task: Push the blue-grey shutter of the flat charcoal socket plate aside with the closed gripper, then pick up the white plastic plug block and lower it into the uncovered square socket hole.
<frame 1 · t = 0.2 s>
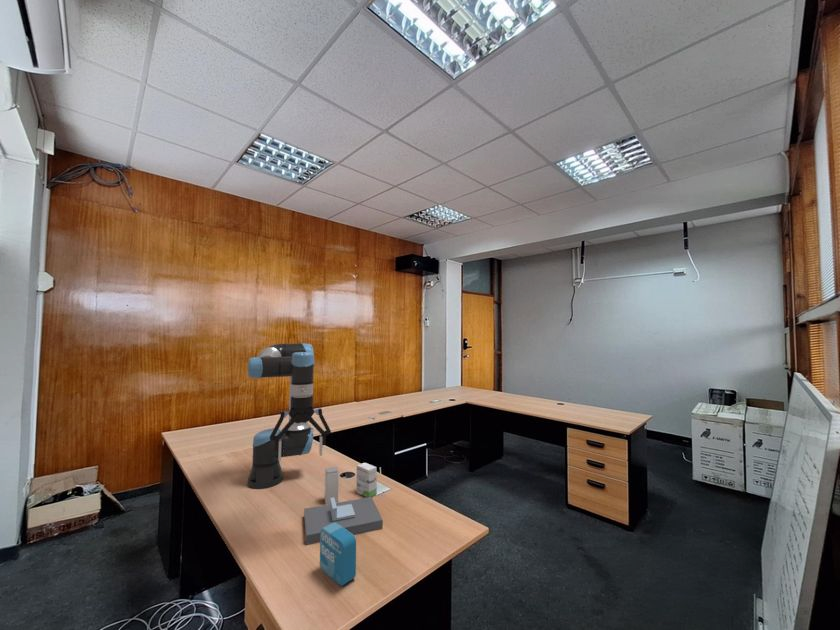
hand: (300, 457, 116), 26 cm above the table, fingers open, 13 cm apart
ink box: (366, 493, 145), on the table
socket block: (342, 522, 122), on the table
data package: (337, 574, 96), on the table
shutter: (342, 507, 123), point 5 cm above the table, slide at 0.0 cm
plug: (331, 500, 138), on the table
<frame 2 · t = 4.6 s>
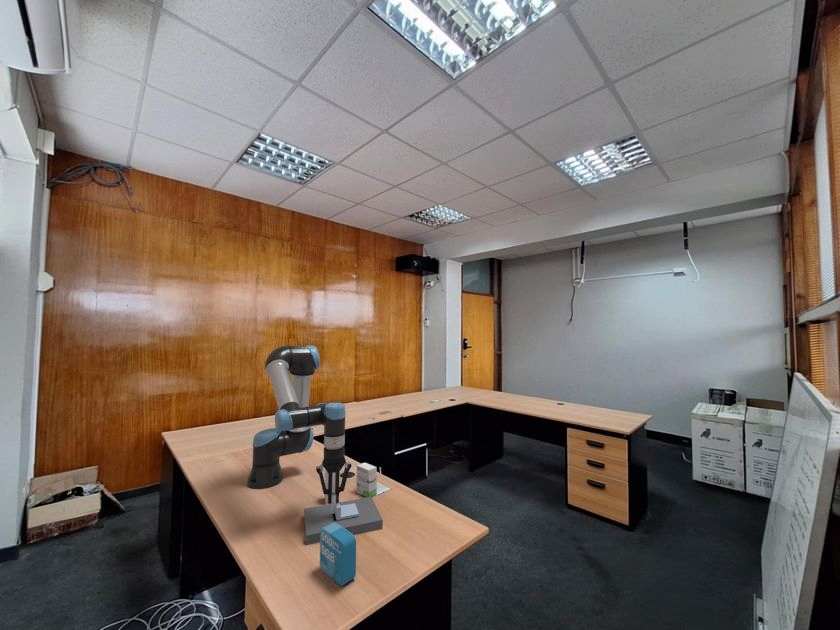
hand: (333, 511, 121), 5 cm above the table, fingers closed
shutter: (346, 506, 123), point 5 cm above the table, slide at 1.4 cm, touching gripper
everything else where it was.
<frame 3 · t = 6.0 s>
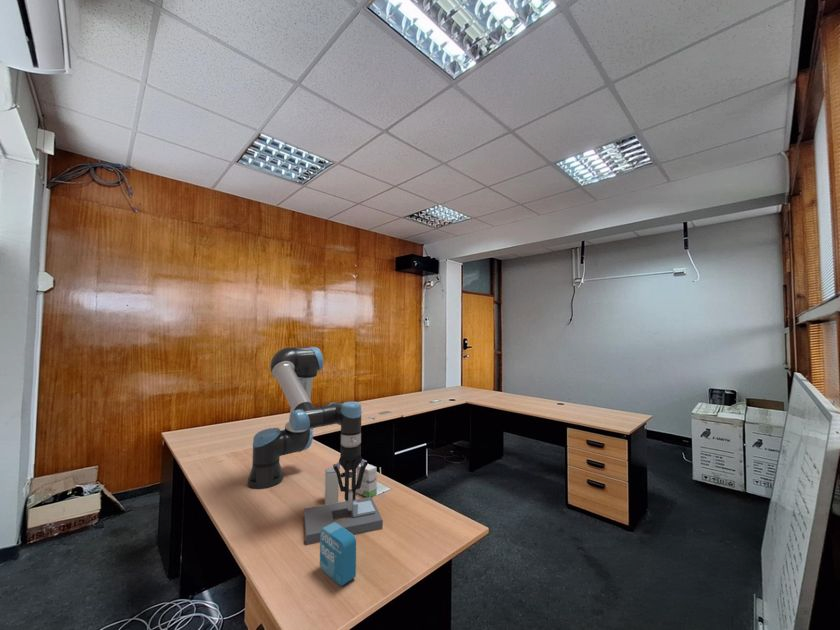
hand: (349, 508, 124), 4 cm above the table, fingers closed
shutter: (362, 503, 125), point 5 cm above the table, slide at 7.4 cm, touching gripper
everything else where it was.
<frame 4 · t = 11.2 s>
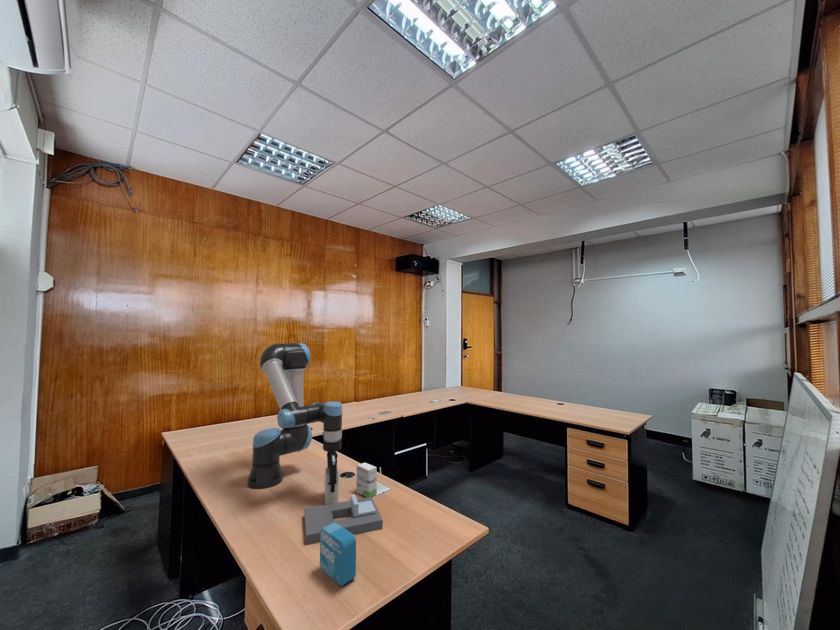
hand: (331, 496, 139), 2 cm above the table, fingers closed on plug, 5 cm apart
shutter: (363, 503, 125), point 5 cm above the table, slide at 7.7 cm
plug: (331, 500, 138), on the table, touching gripper
everything else where it was.
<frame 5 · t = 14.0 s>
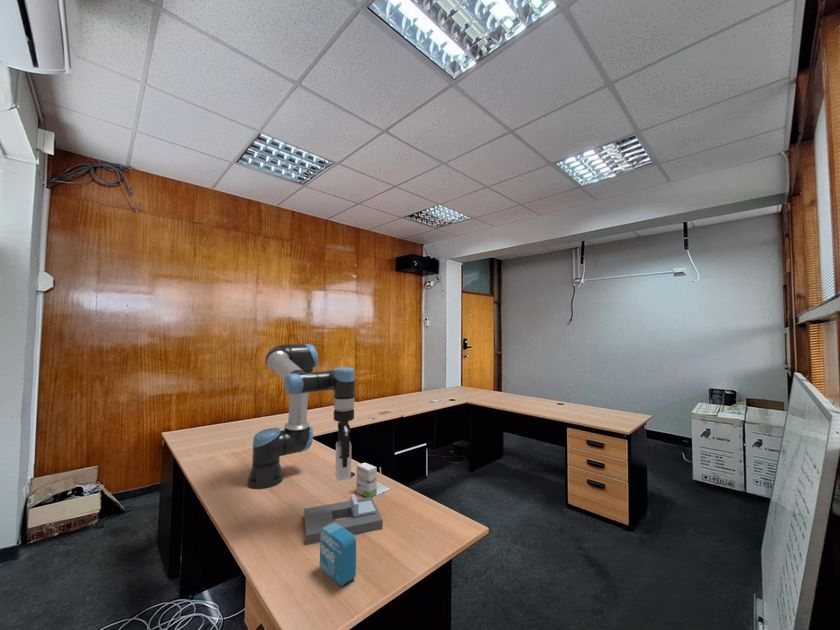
hand: (343, 472, 123), 18 cm above the table, fingers closed on plug, 5 cm apart
plug: (343, 477, 123), point 16 cm above the table, touching gripper
everything else where it was.
when the fingers open (4 cm above the table, at t = 16.8 s): plug drops 2 cm, resting in socket block.
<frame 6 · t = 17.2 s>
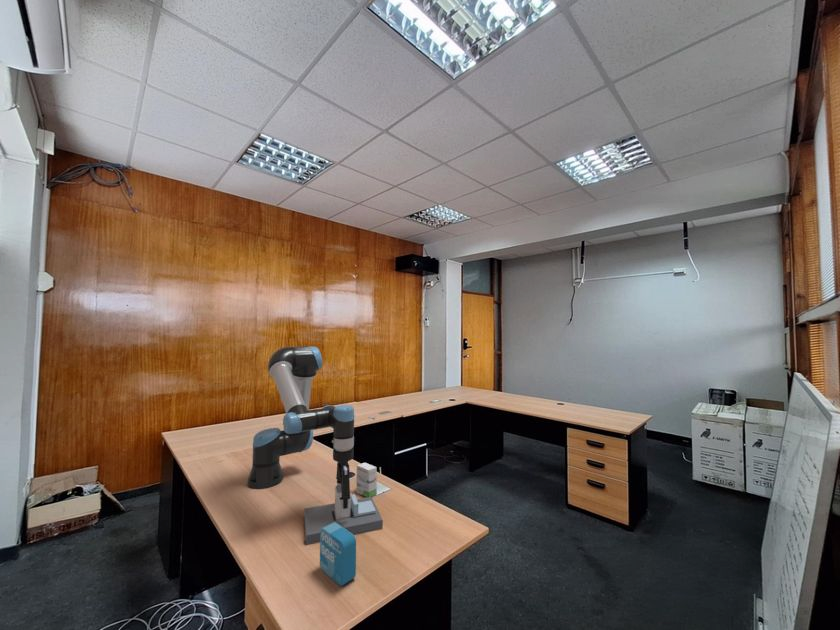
hand: (342, 508, 123), 5 cm above the table, fingers open, 11 cm apart
plug: (342, 522, 122), resting in socket block
everything else where it was.
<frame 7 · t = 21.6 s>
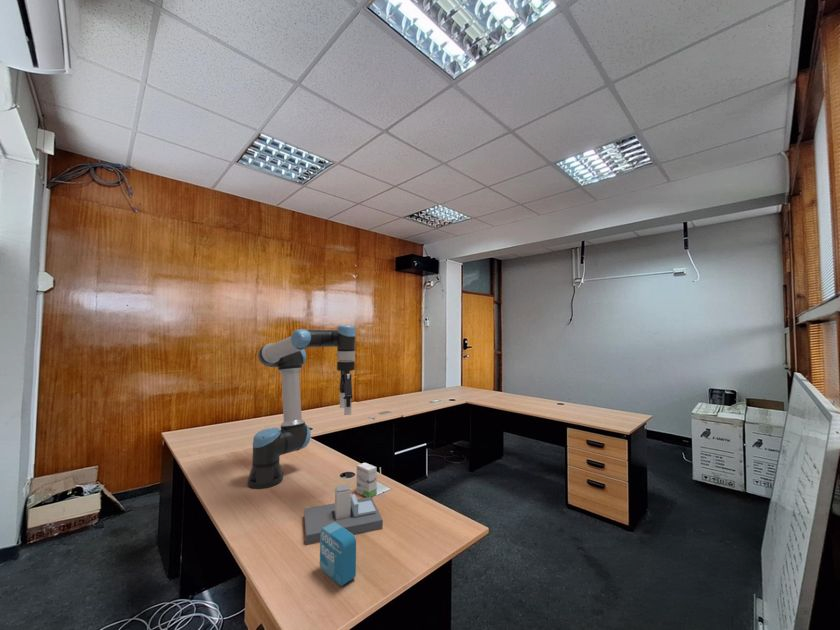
hand: (345, 411, 141), 37 cm above the table, fingers open, 13 cm apart
nothing on the table moved.
at the end: shutter slide at 7.7 cm; plug 0.0 cm off-centre on the socket block, point 0.0 cm above the socket block's base; plug tilted 0° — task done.
